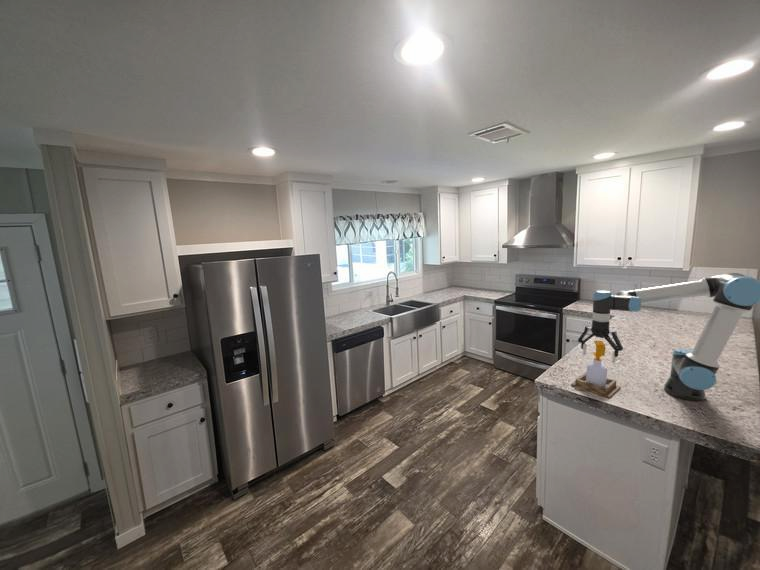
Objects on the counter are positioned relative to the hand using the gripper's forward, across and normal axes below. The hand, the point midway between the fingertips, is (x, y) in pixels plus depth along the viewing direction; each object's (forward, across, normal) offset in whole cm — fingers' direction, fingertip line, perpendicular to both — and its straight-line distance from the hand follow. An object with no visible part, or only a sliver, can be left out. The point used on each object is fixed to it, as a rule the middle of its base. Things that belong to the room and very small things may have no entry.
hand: (598, 358), depth 168 cm
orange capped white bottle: (+15, +1, 0) cm, 15 cm away
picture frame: (+16, +1, 0) cm, 16 cm away
